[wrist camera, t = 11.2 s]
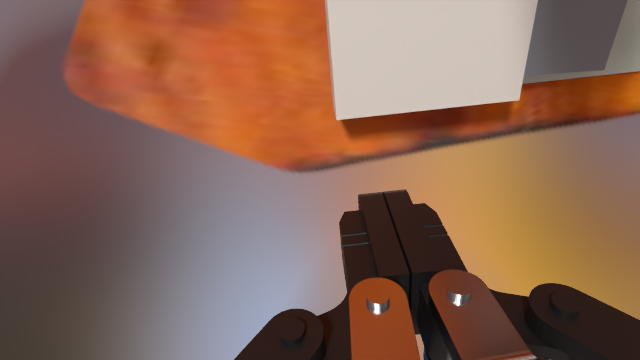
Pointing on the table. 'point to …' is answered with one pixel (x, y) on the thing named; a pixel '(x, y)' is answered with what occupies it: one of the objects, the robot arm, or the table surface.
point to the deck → (425, 53)
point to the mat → (625, 56)
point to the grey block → (573, 35)
